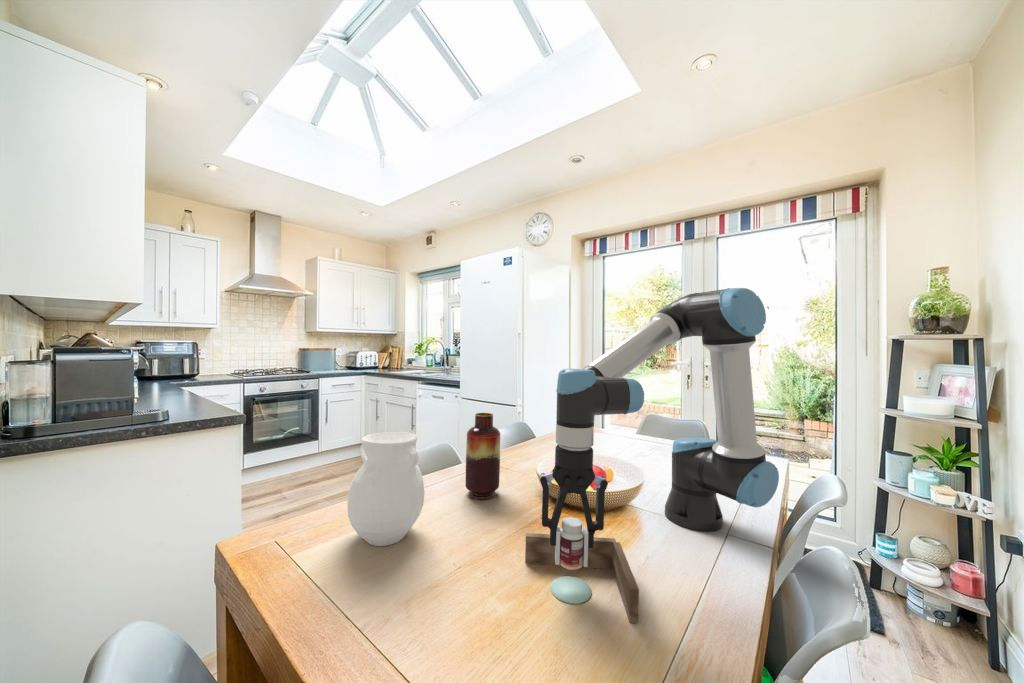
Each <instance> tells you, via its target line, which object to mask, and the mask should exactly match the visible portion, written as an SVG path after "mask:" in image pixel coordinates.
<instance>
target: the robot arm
mask: <svg viewBox="0 0 1024 683" xmlns="http://www.w3.org/2000/svg"><path fill="white" fill-rule="evenodd" d="M764 305H765V304H764V303H763V301H762V299H761V298H760V297H759V295H757V294H756V293H755V291H753V290H751V289H749V288H746V287H729V288H724V289H718V290H711V291H704V292H703V291H702V292H695V293H694V292H693V293H689V294H687V295H684V296H681V297H679V298H678V299H676V300H674V301H673V302H670V303H669V304H667V305H666V306H665V307H663V308H661V309H659V310H658V311H657V312H655V313H654V314H653V315H651V317H650V318H649V321H648V323H646V324H645V325H643V326H642V327H640V328H639V329H637V330H635V332H633V333H632V334H630V335H629V336H627V337H626V338H625V339H623V340H622V341H620V342H619V343H618V344H616V345H615V346H613V347H612V348H610V349H609V350H608V351H606V352H605V353H604V354H602V355H601V356H599V357H598V358H596V359H594V360H593V361H592V362H591V363H589V364H587V365H586V366H584V367H583V368H563V369H561V370H560V371H559V372H558V375H557V376H558V377H557V381H556V382H557V384H556V385H557V386H556V417H555V418H556V424H555V425H556V426H555V443H556V444H557V445H556V446H555V447H554V448H555V451H554V452H555V453H554V456H555V457H554V467H553V469H552V472H548V473H544V472H542V473H540V477H539V481H540V483H541V487H542V496H541V497H542V498H541V499H542V502H541V503H542V504H541V525H542V527H545V528H548V529H549V534H550V544H551V546H555V564H556V565H555V566H560V565H559V561H560V530H561V526H560V525H559V522H560V518H561V515H562V511H563V508H564V504H565V501H566V499H567V496H568V494H575V495H580V500H581V504H582V505H581V506H582V509H583V510H582V511H583V514H584V519H585V524H586V526H582V531H583V534H584V546H583V566H584V567H583V568H589V567H588V548H593V546H594V537H595V533H596V532H597V531H601V532H602V531H603V530H604V528H605V494H606V493H605V492H606V490H607V488H608V485H609V484H608V483H609V482H608V480H607V478H606V477H605V476H603V475H602V476H599V475H596V473H595V472H594V469H593V468H594V449H593V446H594V436H595V435H594V431H595V430H594V428H595V416H602V415H604V416H606V415H627V414H632V413H633V414H634V413H637V412H638V411H640V410H641V409H642V407H643V406H644V403H645V391H644V388H643V386H642V385H641V383H640V382H639V381H637V380H636V379H633V378H627V377H625V376H626V375H628V374H629V373H630V372H632V371H633V370H635V369H636V368H637V367H638V366H640V365H641V364H643V363H644V362H645V361H647V360H648V359H650V358H651V357H652V356H653V355H655V354H656V353H657V352H659V351H660V350H661V349H663V348H664V347H666V346H667V345H674V344H676V343H677V342H679V341H681V340H682V339H686V338H691V337H701V341H702V342H701V343H702V346H704V348H706V349H707V350H708V351H709V356H710V357H709V358H710V367H711V369H710V370H711V378H712V391H713V398H714V400H713V401H714V410H715V423H716V432H717V433H716V436H717V440H715V439H714V438H707V437H679V438H676V439H674V441H673V443H672V450H671V489H670V491H669V493H668V496H667V499H666V501H665V504H664V515H665V518H667V519H668V520H669V521H671V522H672V523H674V524H675V525H678V526H681V527H682V528H687V529H690V530H695V531H701V532H714V531H715V532H716V531H718V530H721V529H722V528H723V525H724V516H723V513H722V512H723V511H722V509H721V506H720V504H719V500H718V497H717V494H718V495H721V496H723V497H725V498H728V499H731V500H733V501H735V502H737V503H738V504H739V505H740V504H742V505H746V506H748V507H752V508H761V507H763V506H766V505H767V504H768V503H769V502H770V501H771V500H772V499H773V497H774V495H775V494H776V491H777V489H778V486H779V481H780V474H779V470H778V467H776V465H775V464H774V463H772V462H771V461H768V460H766V450H765V448H764V447H763V446H761V445H760V444H759V443H758V438H757V426H756V425H757V424H756V414H755V402H754V393H753V392H754V389H753V380H752V368H751V367H752V366H751V358H750V357H751V356H750V349H751V347H753V345H754V344H755V343H756V341H757V339H756V336H757V335H760V334H761V333H762V332H763V330H764V328H765V324H766V322H767V315H766V314H767V313H766V309H765V306H764ZM553 480H554V481H555V483H556V484H557V485H558V487H559V489H558V493H557V498H556V500H555V504H554V507H553V511H552V515H551V517H550V518H549V502H550V501H549V498H550V486H551V485H552V481H553ZM593 482H594V486H595V488H596V492H595V493H596V496H595V498H596V499H595V500H596V501H595V520H594V521H593V518H592V513H591V509H590V504H589V499H588V494H587V490H588V488H589V487H590V486H591V485H592V483H593Z"/></svg>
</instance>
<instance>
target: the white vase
mask: <svg viewBox="0 0 1024 683" xmlns="http://www.w3.org/2000/svg"><path fill="white" fill-rule="evenodd" d="M417 440H418V437H417V435H416V434H415V433H414V432H410V431H403V430H390V431H389V430H388V431H387V430H386V431H378V432H373V433H369V434H366V435H364V436H363V437H362V438H361V440H360V441H361V445H360V447H359V449H358V450H359V451H358V452H359V454H360V459H361V461H362V465H361V466H360V467H359V468H358V469H357V472H355V474H354V476H353V478H352V481H351V483H350V485H349V488H348V494H347V517H348V521H349V522H350V525H351V527H352V528H353V530H354V531H355V532H356V534H357V535H359V536H360V537H361V538H362V539H363V540H364V541H365V542H367V544H369V545H372V546H376V547H384V546H385V547H387V546H390V545H394V544H396V543H399V542H400V541H402V539H404V537H405V536H406V535H407V534H408V532H410V530H411V529H412V527H413V526H414V524H415V523H416V522H417V520H418V519H419V517H420V515H421V513H422V509H423V507H424V503H425V502H424V501H425V485H424V484H425V483H424V477H423V475H422V472H421V469H420V468H419V466H418V463H419V452H418V451H417V449H416V448H415V446H416V444H417Z"/></svg>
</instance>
